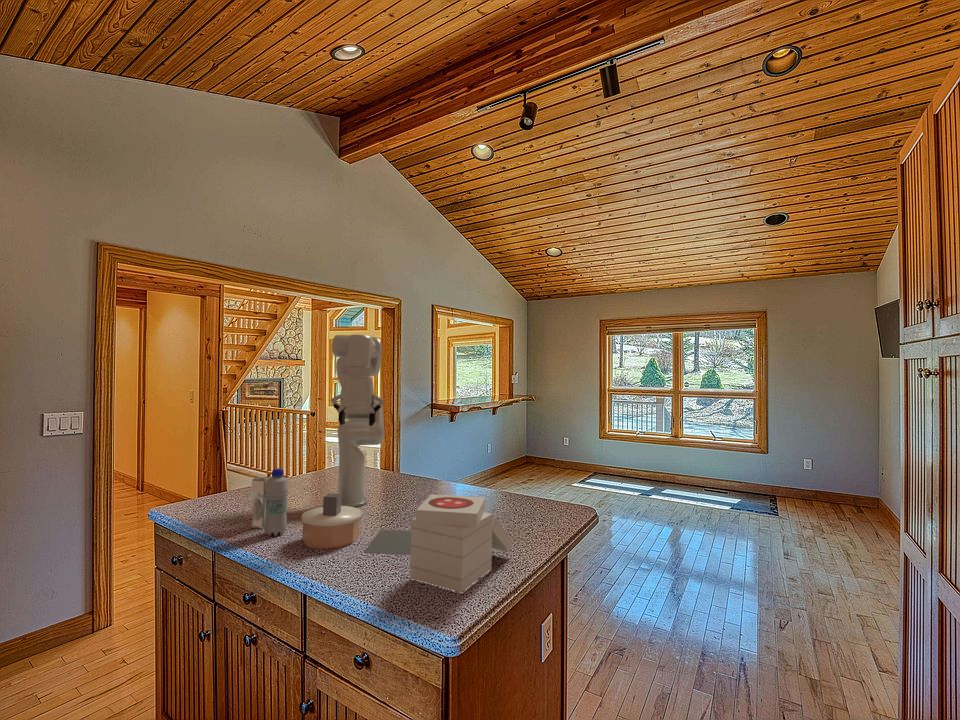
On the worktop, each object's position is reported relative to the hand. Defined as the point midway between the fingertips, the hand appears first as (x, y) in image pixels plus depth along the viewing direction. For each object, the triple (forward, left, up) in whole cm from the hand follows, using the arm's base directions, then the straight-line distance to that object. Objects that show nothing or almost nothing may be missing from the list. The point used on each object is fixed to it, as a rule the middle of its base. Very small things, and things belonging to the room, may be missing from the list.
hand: (356, 424), depth 154 cm
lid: (+12, -3, -26) cm, 29 cm away
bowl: (+12, -3, -33) cm, 36 cm away
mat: (+12, +19, -33) cm, 40 cm away
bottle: (+8, -22, -34) cm, 41 cm away
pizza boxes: (+27, +38, -34) cm, 57 cm away
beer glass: (+1, -30, -34) cm, 45 cm away
